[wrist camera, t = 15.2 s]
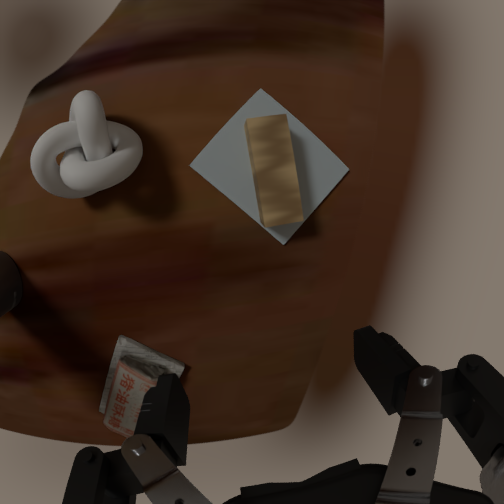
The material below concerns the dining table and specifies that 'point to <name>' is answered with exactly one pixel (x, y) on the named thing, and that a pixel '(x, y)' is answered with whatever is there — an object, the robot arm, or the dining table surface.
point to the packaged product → (132, 382)
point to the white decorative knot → (85, 151)
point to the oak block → (273, 170)
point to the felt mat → (240, 173)
